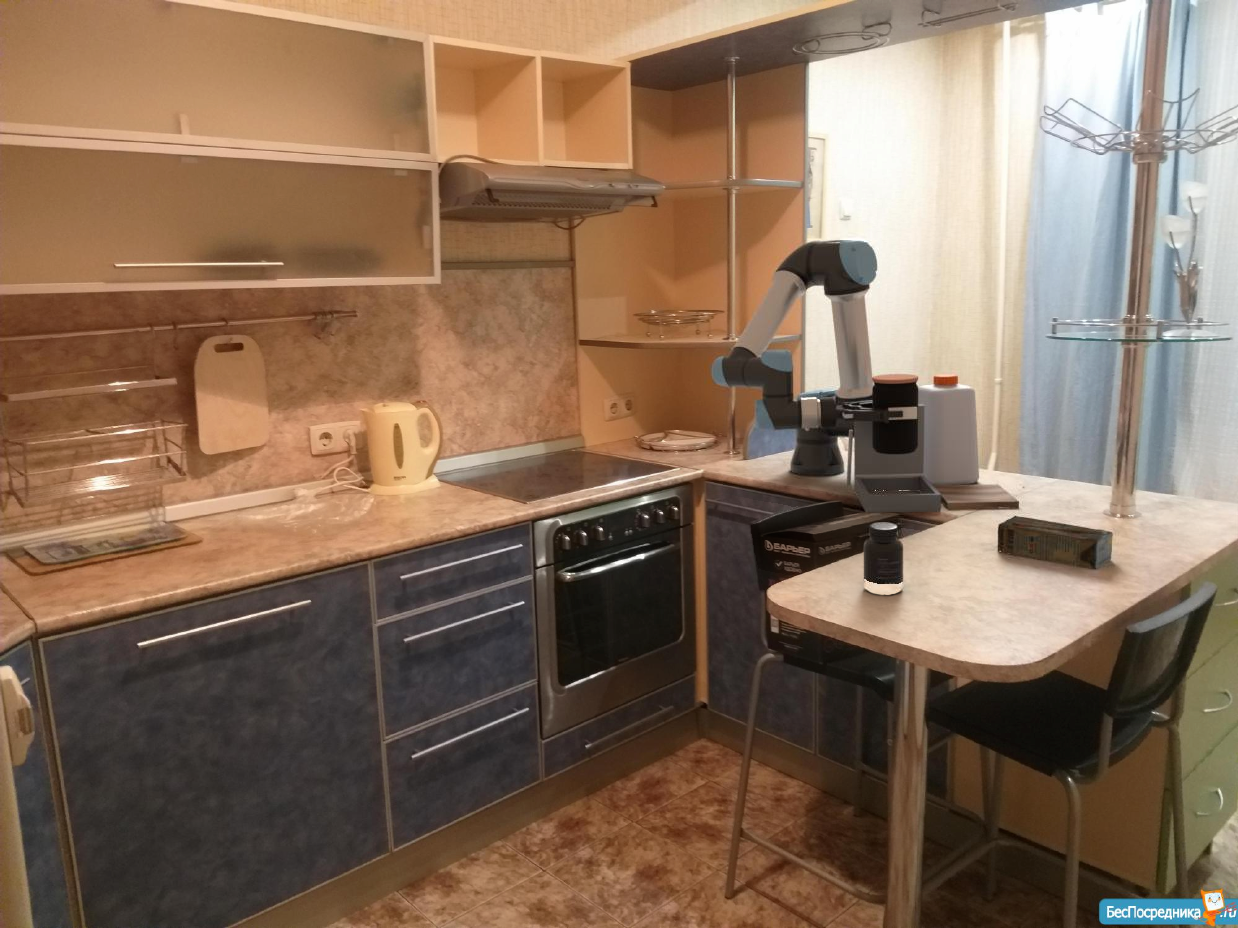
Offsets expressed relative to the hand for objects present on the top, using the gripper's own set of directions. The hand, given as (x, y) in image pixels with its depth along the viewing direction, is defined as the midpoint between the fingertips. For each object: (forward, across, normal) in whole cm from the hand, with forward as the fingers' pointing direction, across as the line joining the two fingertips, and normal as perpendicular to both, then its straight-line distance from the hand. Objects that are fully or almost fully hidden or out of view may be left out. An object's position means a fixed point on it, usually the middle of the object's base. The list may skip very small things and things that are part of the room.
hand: (912, 409), depth 224 cm
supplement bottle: (-17, +66, -22) cm, 71 cm away
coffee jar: (-4, 0, -10) cm, 11 cm away
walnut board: (+15, 0, -23) cm, 27 cm away
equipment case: (-5, -3, -23) cm, 23 cm away
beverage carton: (+18, +47, -23) cm, 55 cm away
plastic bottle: (+12, -22, -23) cm, 34 cm away
